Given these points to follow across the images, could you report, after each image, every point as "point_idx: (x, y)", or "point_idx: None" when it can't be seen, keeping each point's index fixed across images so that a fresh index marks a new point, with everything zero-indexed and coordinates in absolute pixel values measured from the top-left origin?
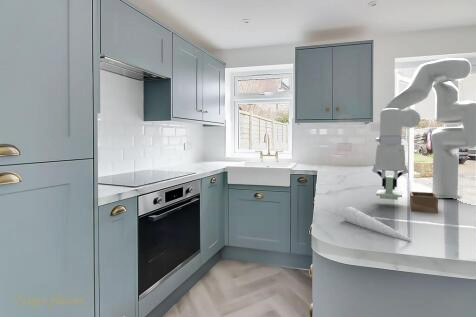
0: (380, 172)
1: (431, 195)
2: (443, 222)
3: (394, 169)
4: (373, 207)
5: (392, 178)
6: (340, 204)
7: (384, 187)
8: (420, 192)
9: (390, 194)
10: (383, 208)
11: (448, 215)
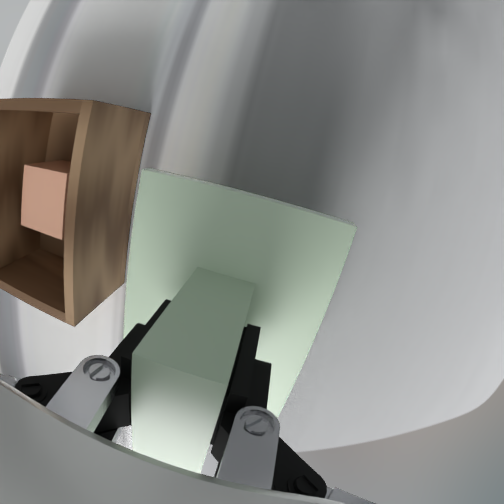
0: (283, 489)
1: (3, 271)
2: None
3: (46, 424)
4: None
5: (144, 345)
6: (489, 291)
7: (255, 330)
8: (29, 294)
9: (231, 192)
10: None
11: None
